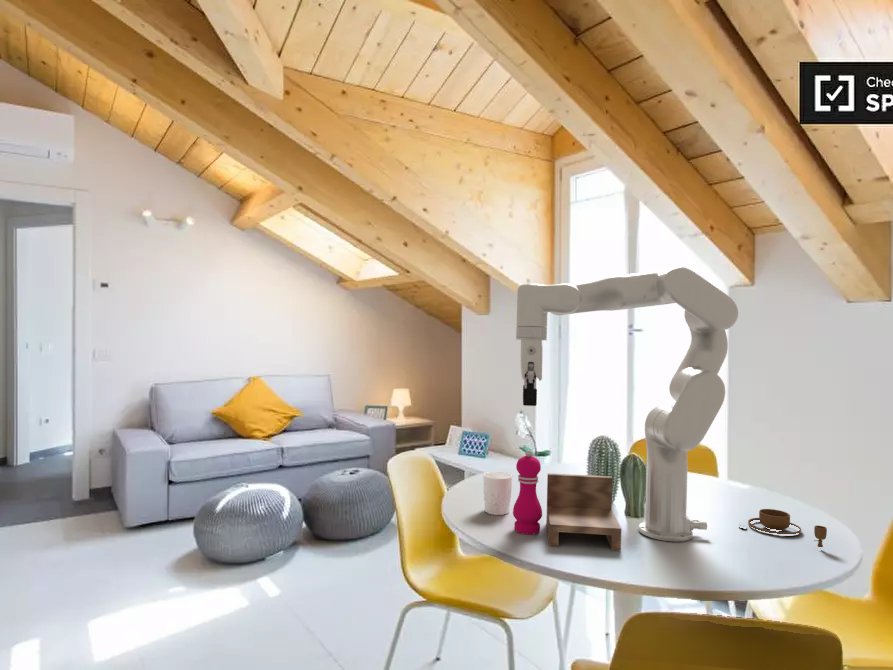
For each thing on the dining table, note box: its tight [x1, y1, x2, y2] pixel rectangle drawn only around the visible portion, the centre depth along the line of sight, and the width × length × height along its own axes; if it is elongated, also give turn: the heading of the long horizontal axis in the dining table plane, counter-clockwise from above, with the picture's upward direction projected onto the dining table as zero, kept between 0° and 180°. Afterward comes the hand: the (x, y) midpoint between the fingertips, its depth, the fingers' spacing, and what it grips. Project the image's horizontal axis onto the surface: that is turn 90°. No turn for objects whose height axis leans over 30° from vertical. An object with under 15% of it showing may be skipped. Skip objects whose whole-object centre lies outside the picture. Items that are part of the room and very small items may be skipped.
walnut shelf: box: [545, 472, 622, 551], centre depth 144 cm, size 16×16×13 cm
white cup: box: [482, 471, 513, 516], centre depth 162 cm, size 8×8×10 cm
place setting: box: [747, 508, 828, 548], centre depth 148 cm, size 18×20×6 cm
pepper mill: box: [512, 449, 543, 535], centre depth 147 cm, size 7×7×20 cm
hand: (529, 403), depth 147 cm, fingers open, 9 cm apart
